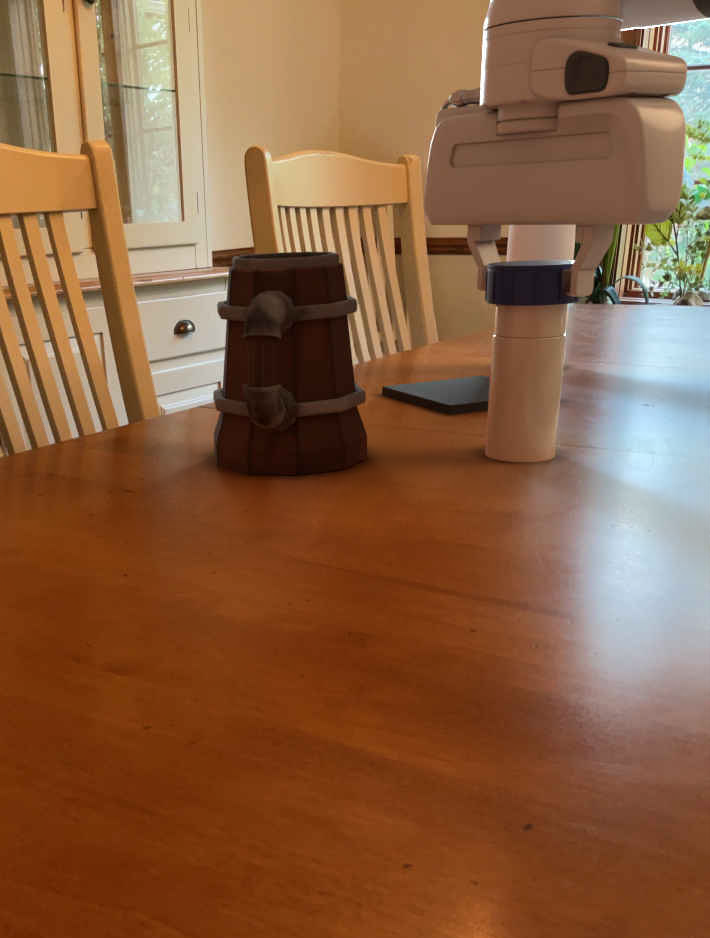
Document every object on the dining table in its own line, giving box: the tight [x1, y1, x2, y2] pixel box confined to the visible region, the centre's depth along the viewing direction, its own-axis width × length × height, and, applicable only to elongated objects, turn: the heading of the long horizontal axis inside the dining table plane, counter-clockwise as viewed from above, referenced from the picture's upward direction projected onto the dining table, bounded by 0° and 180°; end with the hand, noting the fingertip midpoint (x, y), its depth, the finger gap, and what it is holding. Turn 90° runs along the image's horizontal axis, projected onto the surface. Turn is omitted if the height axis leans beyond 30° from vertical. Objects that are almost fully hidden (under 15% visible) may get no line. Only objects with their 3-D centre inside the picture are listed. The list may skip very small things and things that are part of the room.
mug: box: [212, 251, 368, 477], centre depth 76 cm, size 16×12×15 cm
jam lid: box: [484, 259, 582, 306], centre depth 75 cm, size 7×7×3 cm
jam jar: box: [484, 304, 567, 463], centre depth 78 cm, size 5×5×11 cm
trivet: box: [381, 375, 490, 416], centre depth 101 cm, size 12×12×1 cm
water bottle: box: [505, 225, 577, 361], centre depth 113 cm, size 7×7×25 cm
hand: (532, 293), depth 75 cm, fingers closed on jam lid, 6 cm apart
